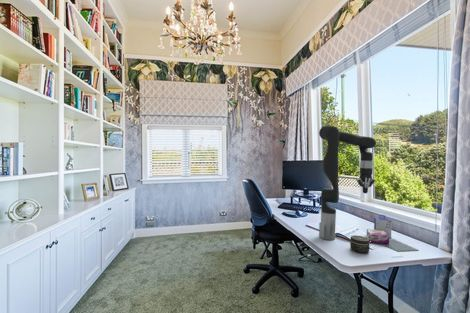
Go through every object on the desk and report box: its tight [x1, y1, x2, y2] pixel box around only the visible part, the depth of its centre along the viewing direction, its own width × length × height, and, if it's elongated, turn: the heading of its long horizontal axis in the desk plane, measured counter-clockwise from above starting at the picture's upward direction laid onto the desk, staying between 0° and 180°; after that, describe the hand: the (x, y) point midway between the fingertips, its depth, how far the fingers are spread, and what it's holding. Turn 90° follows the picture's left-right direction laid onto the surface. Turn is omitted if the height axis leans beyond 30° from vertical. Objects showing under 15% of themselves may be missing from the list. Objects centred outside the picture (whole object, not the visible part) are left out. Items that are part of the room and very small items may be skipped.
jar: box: [349, 234, 371, 255], centre depth 137 cm, size 10×10×8 cm
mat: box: [383, 238, 419, 253], centre depth 148 cm, size 15×18×1 cm
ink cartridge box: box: [373, 214, 393, 239], centre depth 165 cm, size 10×6×14 cm, turn 76°
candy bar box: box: [366, 228, 390, 244], centre depth 156 cm, size 11×5×16 cm
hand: (365, 193), depth 157 cm, fingers closed
